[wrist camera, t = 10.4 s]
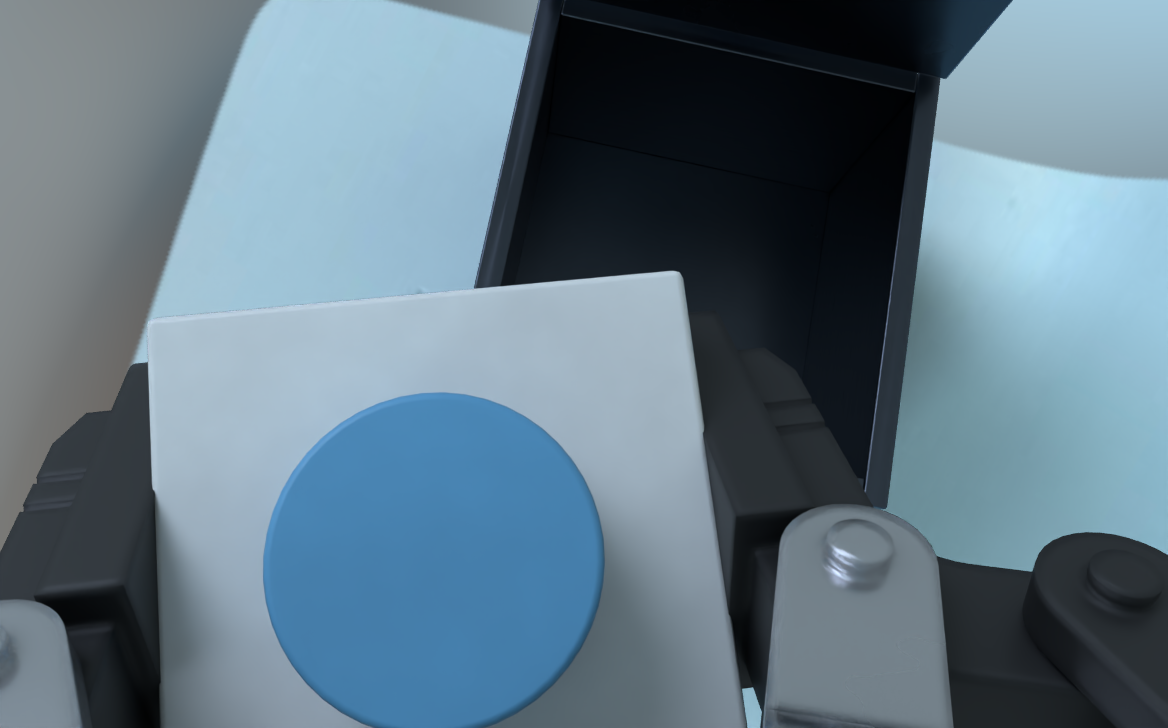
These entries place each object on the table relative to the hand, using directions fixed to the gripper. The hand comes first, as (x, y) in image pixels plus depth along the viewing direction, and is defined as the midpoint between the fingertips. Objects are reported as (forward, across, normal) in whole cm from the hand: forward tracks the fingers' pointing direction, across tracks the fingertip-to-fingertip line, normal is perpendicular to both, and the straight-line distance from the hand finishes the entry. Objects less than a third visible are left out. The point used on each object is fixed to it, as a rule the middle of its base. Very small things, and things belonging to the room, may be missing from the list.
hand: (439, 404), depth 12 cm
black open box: (+25, -8, +14) cm, 30 cm away
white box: (+2, 0, +5) cm, 5 cm away
